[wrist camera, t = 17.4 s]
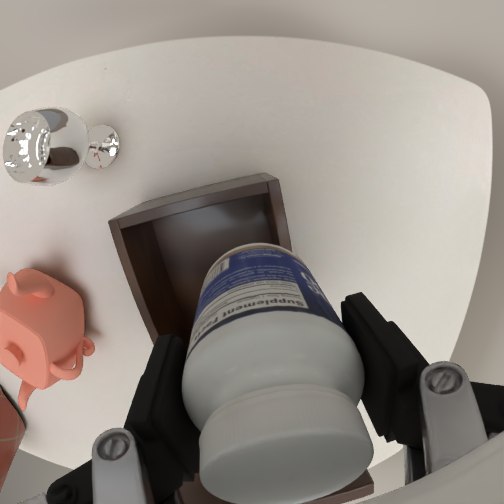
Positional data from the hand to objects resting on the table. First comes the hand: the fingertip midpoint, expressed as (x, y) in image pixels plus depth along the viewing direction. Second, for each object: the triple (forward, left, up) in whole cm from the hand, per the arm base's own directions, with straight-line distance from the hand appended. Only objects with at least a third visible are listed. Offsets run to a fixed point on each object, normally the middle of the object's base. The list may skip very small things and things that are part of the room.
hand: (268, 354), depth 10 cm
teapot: (+4, -26, -20) cm, 33 cm away
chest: (+3, -3, -19) cm, 20 cm away
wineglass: (-11, -12, -20) cm, 26 cm away
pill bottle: (0, 0, -5) cm, 5 cm away
